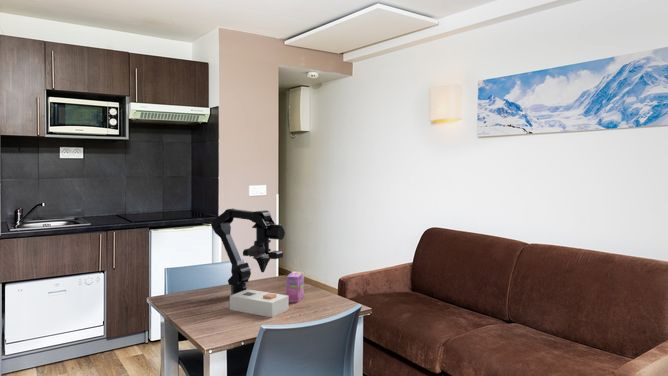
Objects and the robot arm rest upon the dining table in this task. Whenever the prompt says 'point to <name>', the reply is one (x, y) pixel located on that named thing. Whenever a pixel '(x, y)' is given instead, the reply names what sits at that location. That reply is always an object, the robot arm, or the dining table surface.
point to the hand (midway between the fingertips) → (262, 272)
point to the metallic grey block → (248, 294)
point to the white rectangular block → (259, 303)
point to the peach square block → (269, 296)
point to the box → (295, 286)
